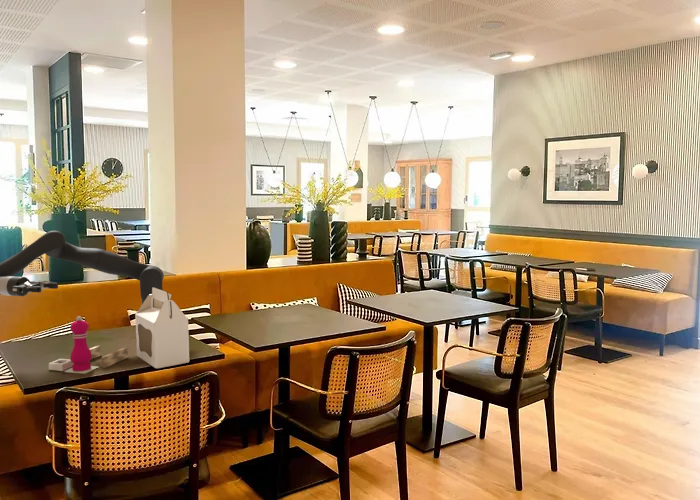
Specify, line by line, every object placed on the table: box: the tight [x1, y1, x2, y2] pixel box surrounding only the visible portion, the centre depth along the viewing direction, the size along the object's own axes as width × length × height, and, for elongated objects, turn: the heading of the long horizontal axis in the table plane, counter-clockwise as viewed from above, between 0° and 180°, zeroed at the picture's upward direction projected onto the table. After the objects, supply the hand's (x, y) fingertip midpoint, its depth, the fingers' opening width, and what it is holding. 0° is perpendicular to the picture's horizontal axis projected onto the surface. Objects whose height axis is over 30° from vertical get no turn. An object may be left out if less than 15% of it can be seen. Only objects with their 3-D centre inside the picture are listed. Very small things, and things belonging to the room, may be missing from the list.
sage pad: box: [63, 365, 100, 375], centre depth 215 cm, size 8×9×1 cm
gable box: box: [134, 287, 190, 369], centre depth 227 cm, size 22×13×28 cm, turn 38°
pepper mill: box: [69, 315, 92, 371], centre depth 214 cm, size 7×7×20 cm
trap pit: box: [48, 358, 74, 372], centre depth 217 cm, size 6×6×2 cm
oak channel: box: [89, 345, 129, 368], centre depth 225 cm, size 14×14×4 cm
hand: (49, 287), depth 219 cm, fingers open, 8 cm apart
